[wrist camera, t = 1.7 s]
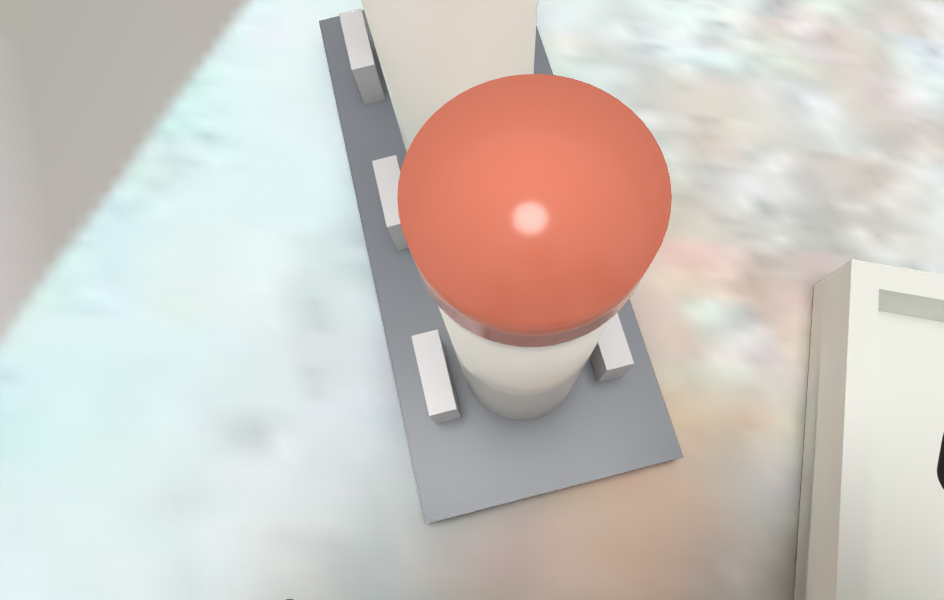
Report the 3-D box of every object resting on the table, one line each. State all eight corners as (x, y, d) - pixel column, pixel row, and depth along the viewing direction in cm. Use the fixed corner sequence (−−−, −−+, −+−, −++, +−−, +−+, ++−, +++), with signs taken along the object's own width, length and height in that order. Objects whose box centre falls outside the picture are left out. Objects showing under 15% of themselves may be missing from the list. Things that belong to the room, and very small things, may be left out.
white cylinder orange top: (569, 435, 20) (652, 346, 8) (448, 409, 20) (367, 291, 9) (588, 318, 21) (686, 94, 9) (473, 296, 21) (431, 57, 10)
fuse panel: (675, 459, 20) (939, 396, 8) (429, 523, 20) (298, 563, 8) (517, -8, 26) (525, -474, 13) (326, 38, 26) (155, -389, 13)
